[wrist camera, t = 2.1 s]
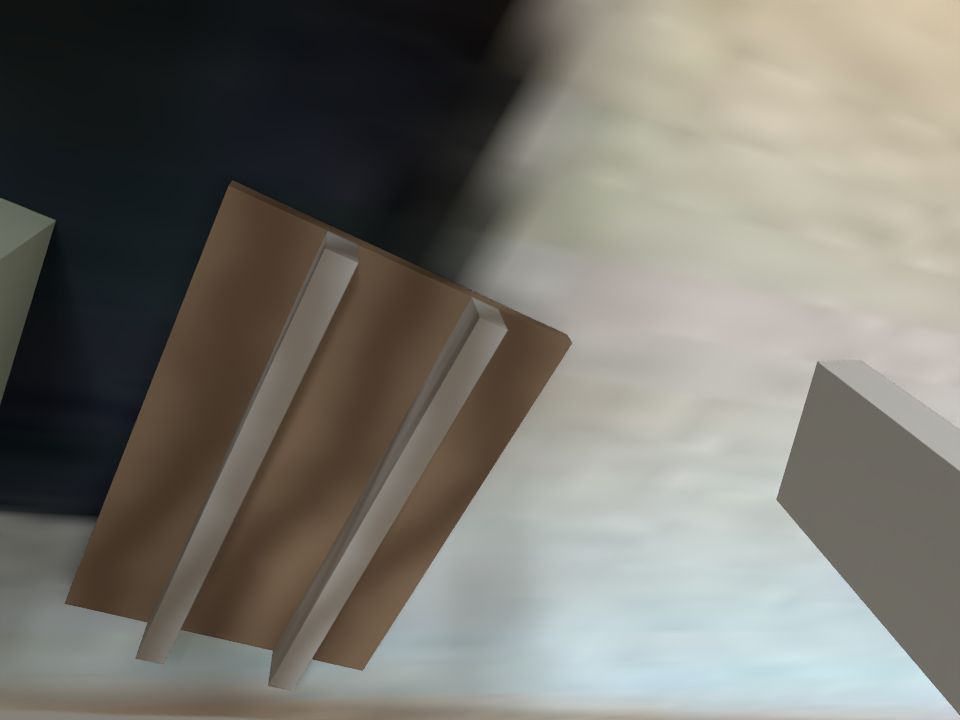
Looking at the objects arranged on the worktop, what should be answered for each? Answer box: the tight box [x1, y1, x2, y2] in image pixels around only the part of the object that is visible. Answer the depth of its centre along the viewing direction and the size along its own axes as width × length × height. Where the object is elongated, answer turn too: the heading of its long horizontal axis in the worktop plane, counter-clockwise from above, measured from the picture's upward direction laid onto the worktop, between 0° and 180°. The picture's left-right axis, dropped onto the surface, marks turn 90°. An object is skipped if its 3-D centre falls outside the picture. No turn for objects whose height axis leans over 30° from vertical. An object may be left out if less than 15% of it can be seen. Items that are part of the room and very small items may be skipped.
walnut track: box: [65, 180, 572, 691], centre depth 36 cm, size 18×26×4 cm
